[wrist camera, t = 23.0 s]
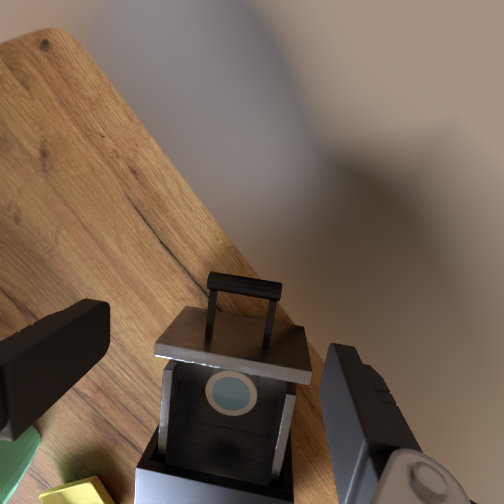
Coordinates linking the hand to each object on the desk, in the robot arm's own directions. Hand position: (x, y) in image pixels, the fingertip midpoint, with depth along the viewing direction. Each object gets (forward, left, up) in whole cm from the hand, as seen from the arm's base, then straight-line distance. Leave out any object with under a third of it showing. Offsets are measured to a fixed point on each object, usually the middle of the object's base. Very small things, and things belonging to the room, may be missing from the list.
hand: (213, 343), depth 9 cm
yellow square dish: (+43, -2, -18) cm, 46 cm away
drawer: (+11, +4, -17) cm, 20 cm away
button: (+13, +5, -15) cm, 21 cm away
